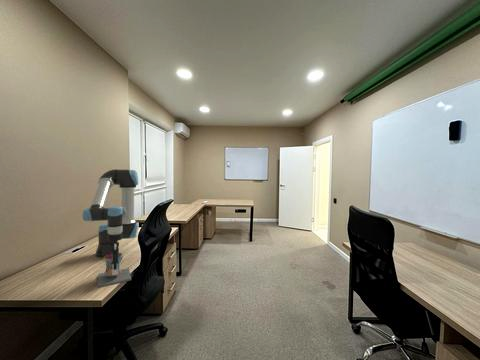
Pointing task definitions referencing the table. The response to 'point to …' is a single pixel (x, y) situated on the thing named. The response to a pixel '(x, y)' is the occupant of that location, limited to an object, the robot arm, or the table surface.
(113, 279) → the slate board
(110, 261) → the mug
